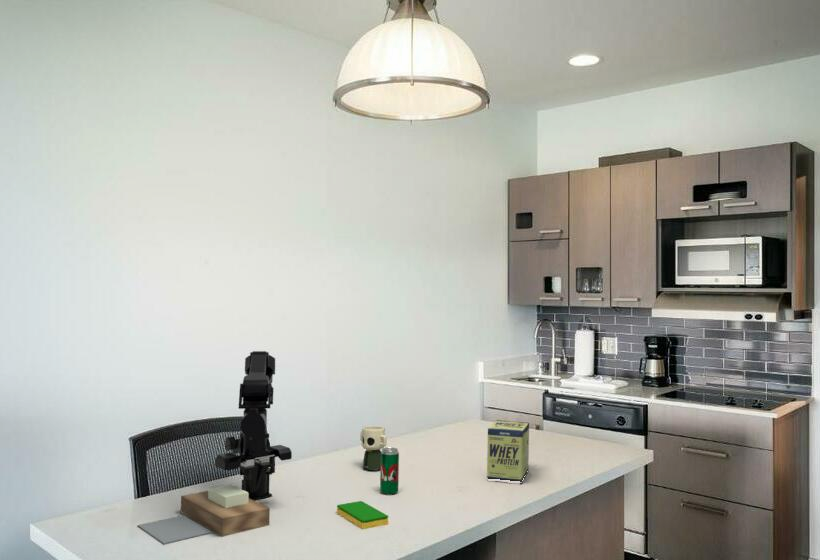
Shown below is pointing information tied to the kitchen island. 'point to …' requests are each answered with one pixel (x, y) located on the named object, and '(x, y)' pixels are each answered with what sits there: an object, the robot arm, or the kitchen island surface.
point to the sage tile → (228, 496)
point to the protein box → (508, 450)
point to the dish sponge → (362, 514)
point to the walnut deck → (224, 514)
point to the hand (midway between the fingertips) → (253, 491)
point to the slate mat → (174, 529)
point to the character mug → (373, 445)
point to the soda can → (389, 470)
